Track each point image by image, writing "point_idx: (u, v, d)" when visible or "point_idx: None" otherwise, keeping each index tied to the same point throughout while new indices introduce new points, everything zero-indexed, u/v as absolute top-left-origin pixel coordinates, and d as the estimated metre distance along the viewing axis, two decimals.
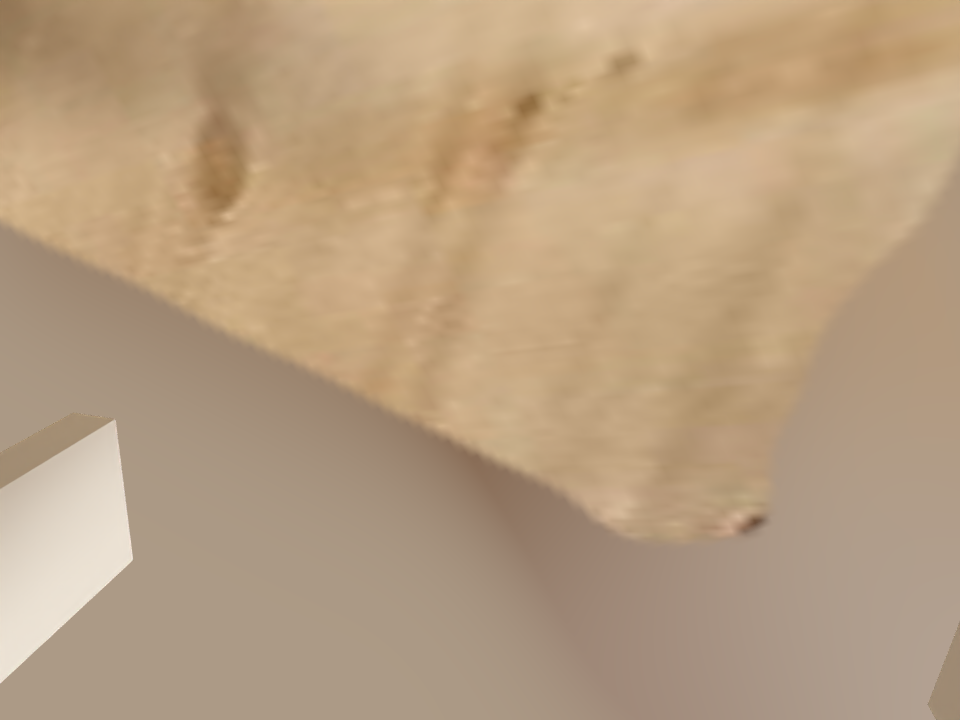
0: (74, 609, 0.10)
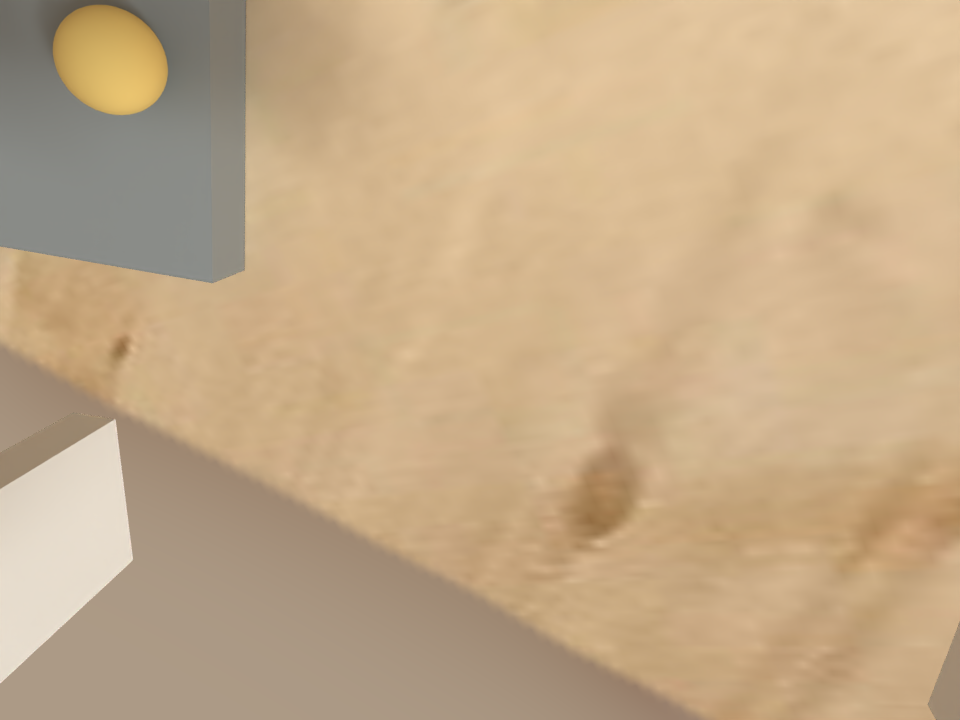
0: (74, 609, 0.10)
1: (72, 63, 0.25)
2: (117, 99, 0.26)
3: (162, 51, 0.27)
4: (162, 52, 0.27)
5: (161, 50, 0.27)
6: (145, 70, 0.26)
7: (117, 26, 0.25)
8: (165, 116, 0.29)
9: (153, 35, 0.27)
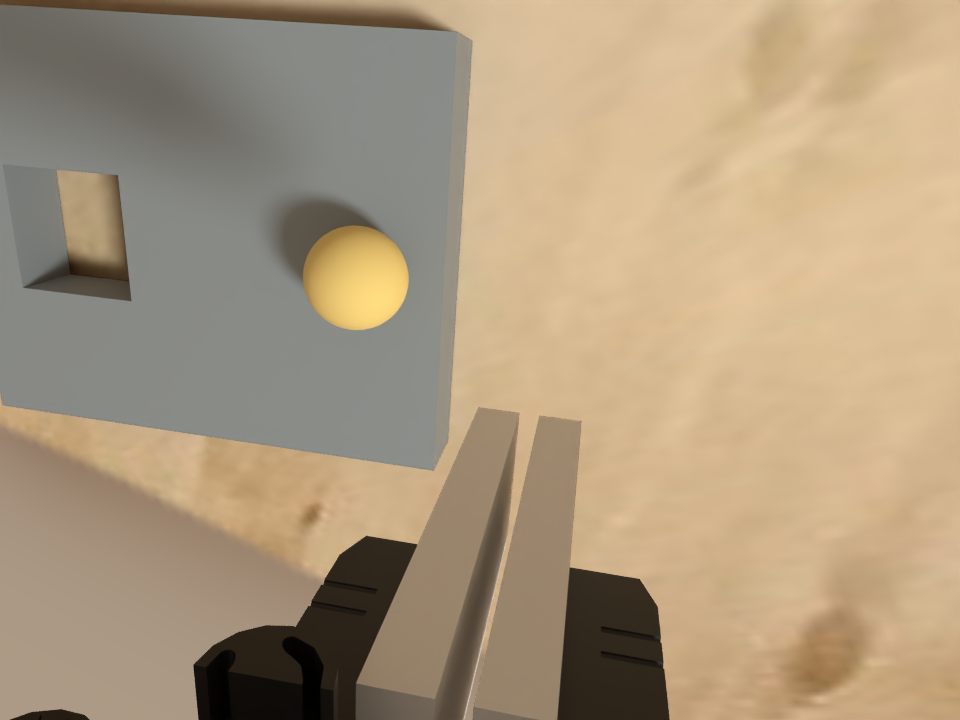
0: (496, 581, 0.12)
1: (332, 296, 0.24)
2: (370, 322, 0.25)
3: (406, 264, 0.26)
4: (406, 265, 0.26)
5: (406, 264, 0.26)
6: (398, 291, 0.25)
7: (376, 254, 0.25)
8: None
9: (399, 251, 0.26)
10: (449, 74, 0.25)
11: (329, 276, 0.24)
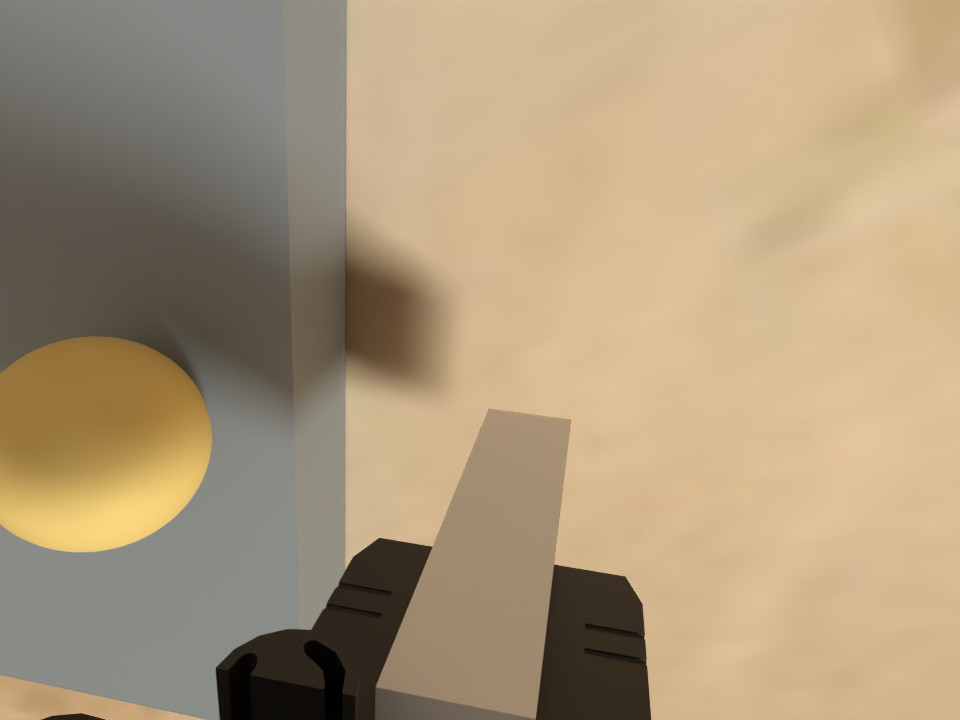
0: None
1: (5, 507, 0.11)
2: (111, 544, 0.12)
3: (200, 413, 0.13)
4: (201, 416, 0.13)
5: (199, 413, 0.13)
6: (168, 482, 0.12)
7: (104, 413, 0.11)
8: (207, 485, 0.15)
9: (181, 390, 0.13)
10: (273, 21, 0.12)
11: None
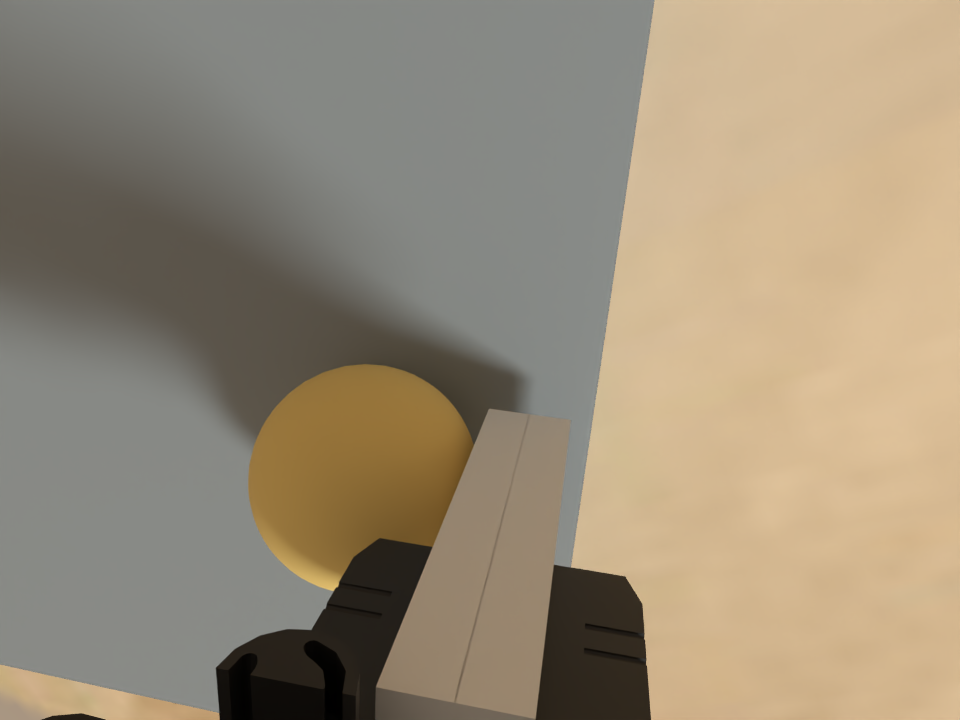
0: None
1: (273, 535, 0.11)
2: None
3: None
4: None
5: None
6: (428, 540, 0.11)
7: (376, 456, 0.10)
8: None
9: (454, 438, 0.11)
10: (637, 35, 0.11)
11: (268, 492, 0.11)
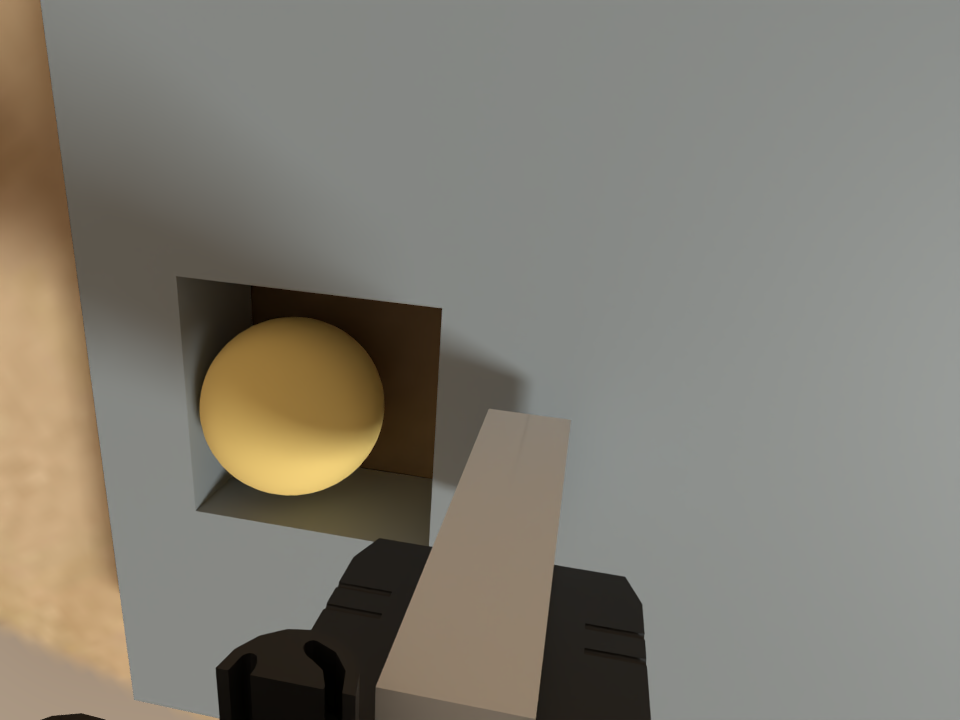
0: None
1: None
2: None
3: (276, 416, 0.13)
4: (273, 418, 0.13)
5: (271, 414, 0.13)
6: (220, 442, 0.14)
7: (219, 362, 0.14)
8: None
9: (270, 385, 0.13)
10: None
11: None
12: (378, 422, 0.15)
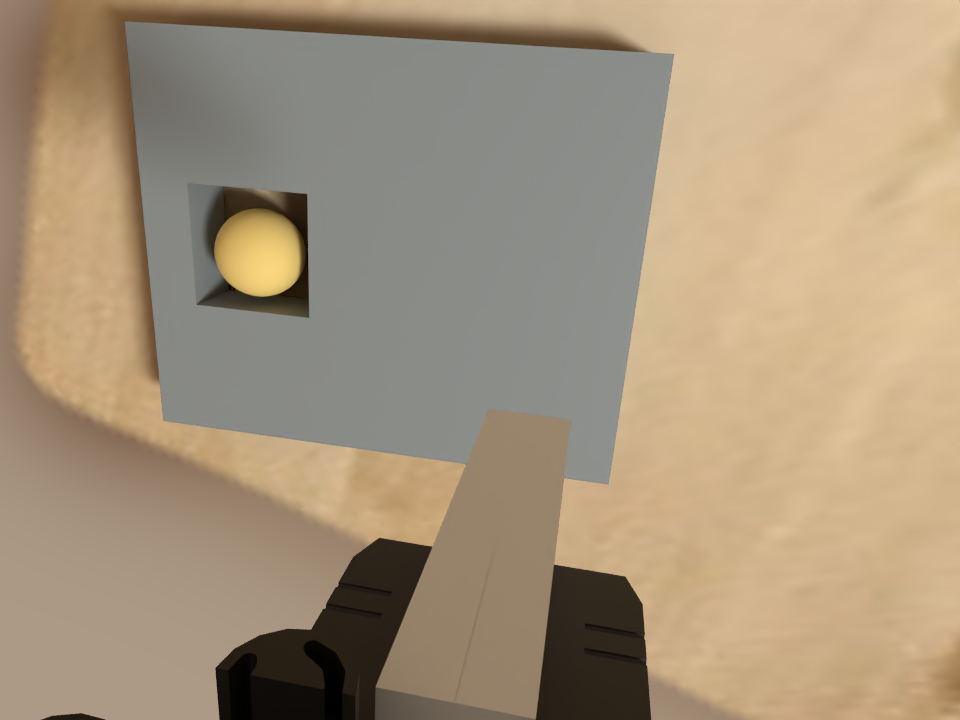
0: None
1: None
2: (233, 285, 0.31)
3: (268, 247, 0.29)
4: (267, 248, 0.29)
5: (266, 246, 0.29)
6: (239, 264, 0.29)
7: (230, 228, 0.30)
8: (580, 331, 0.29)
9: (263, 234, 0.29)
10: (662, 96, 0.25)
11: None
12: (305, 255, 0.32)
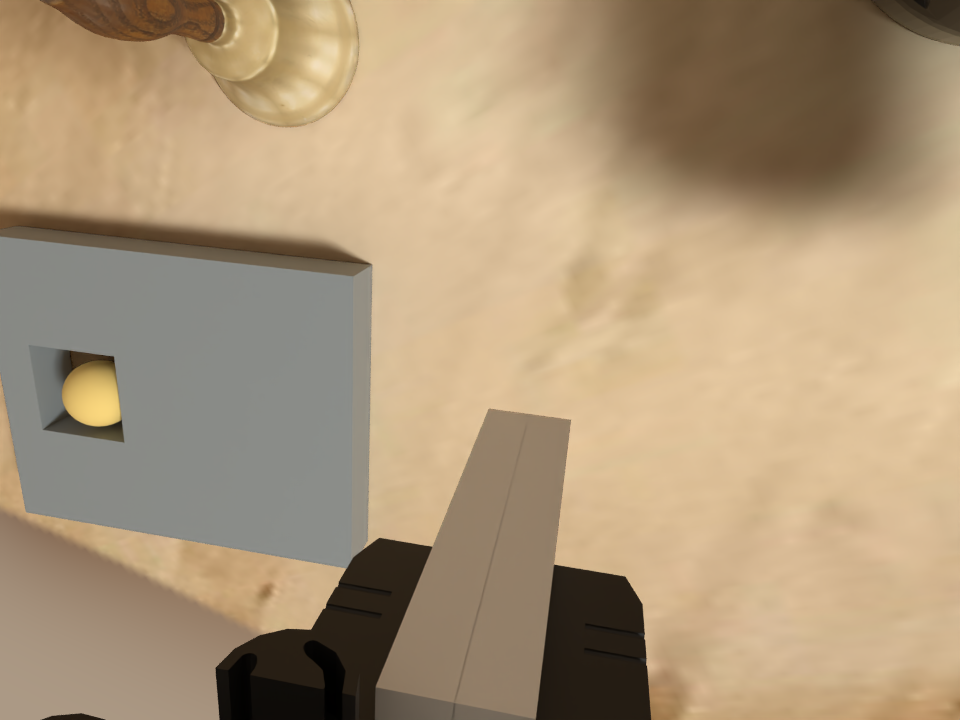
0: None
1: None
2: (81, 422, 0.40)
3: (111, 393, 0.40)
4: (110, 394, 0.40)
5: (109, 393, 0.40)
6: (88, 409, 0.39)
7: (77, 383, 0.39)
8: (316, 459, 0.39)
9: (105, 384, 0.40)
10: (349, 303, 0.35)
11: (63, 388, 0.40)
12: None
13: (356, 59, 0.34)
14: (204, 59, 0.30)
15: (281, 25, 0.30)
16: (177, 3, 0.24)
